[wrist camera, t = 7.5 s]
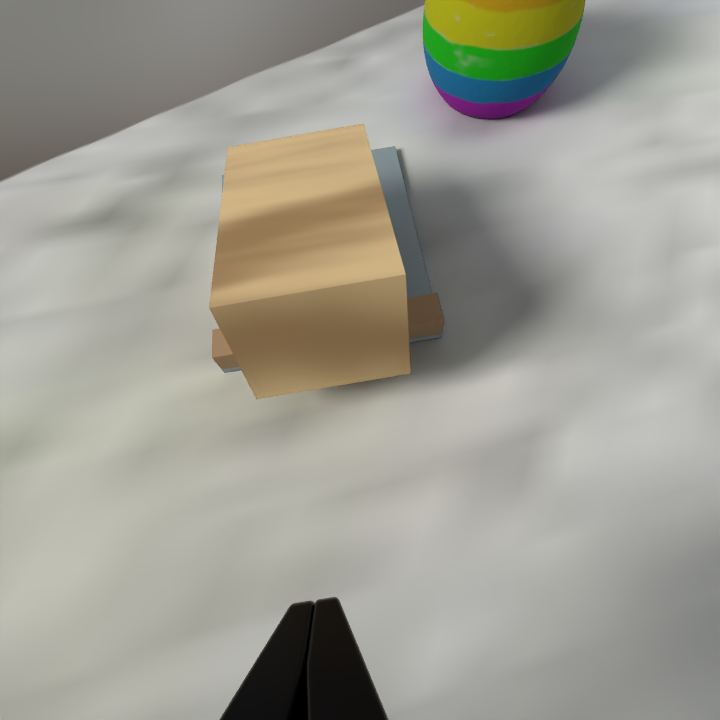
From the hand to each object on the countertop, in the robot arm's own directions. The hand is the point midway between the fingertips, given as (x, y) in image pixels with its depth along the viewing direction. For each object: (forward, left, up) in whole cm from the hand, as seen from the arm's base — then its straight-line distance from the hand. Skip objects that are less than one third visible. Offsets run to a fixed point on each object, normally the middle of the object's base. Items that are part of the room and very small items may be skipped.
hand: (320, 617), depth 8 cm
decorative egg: (+23, -18, -9) cm, 30 cm away
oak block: (+8, -2, -4) cm, 9 cm away
